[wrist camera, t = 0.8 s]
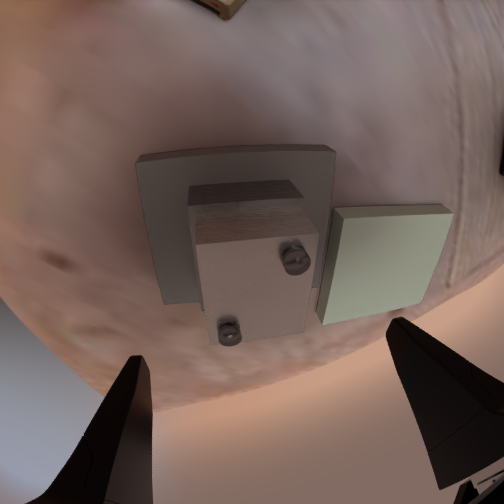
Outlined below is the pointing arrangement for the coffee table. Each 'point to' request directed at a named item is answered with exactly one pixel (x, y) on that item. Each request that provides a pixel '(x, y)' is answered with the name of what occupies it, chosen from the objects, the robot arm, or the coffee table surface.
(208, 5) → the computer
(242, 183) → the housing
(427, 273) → the stand
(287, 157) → the stand
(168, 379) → the coffee table surface
